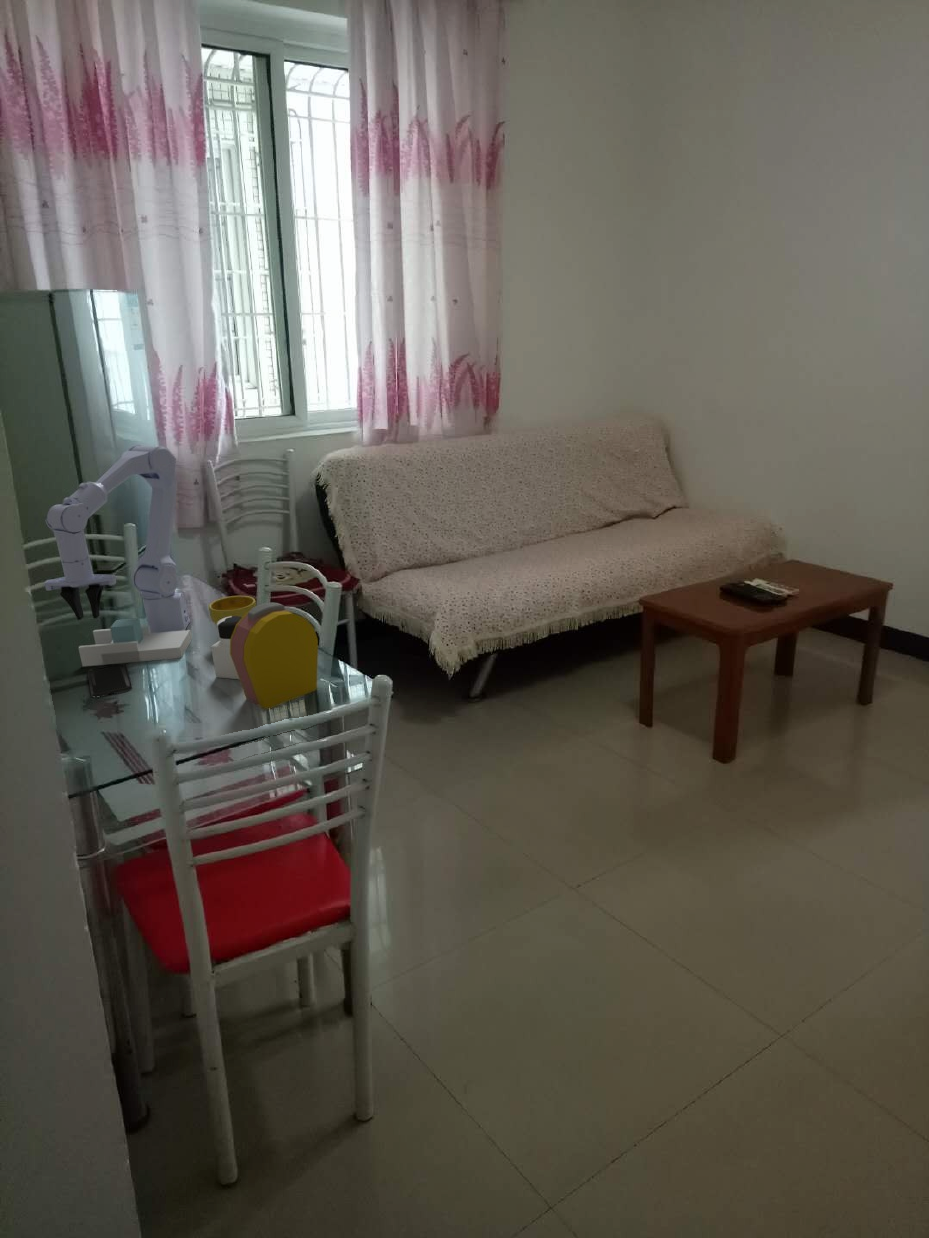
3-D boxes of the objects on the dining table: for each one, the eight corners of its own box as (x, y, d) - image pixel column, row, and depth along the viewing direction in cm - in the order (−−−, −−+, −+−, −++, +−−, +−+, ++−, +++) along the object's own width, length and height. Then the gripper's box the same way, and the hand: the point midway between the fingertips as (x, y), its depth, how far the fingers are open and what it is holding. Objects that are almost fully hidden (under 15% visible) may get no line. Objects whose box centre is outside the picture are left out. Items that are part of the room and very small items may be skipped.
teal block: (143, 638, 194) (138, 617, 192) (137, 646, 189) (133, 625, 187) (120, 640, 194) (116, 619, 192) (114, 648, 189) (109, 627, 187)
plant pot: (263, 646, 192) (257, 605, 188) (216, 654, 189) (209, 613, 185) (259, 631, 201) (253, 592, 197) (214, 638, 198) (207, 599, 195)
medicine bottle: (263, 666, 180) (255, 614, 176) (244, 680, 174) (235, 626, 170) (234, 664, 182) (226, 612, 178) (215, 677, 176) (206, 624, 172)
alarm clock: (301, 676, 174) (289, 592, 168) (323, 686, 169) (312, 600, 162) (236, 700, 165) (221, 612, 159) (258, 712, 159) (243, 621, 153)
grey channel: (191, 639, 198) (188, 621, 197) (181, 657, 188) (178, 638, 186) (98, 648, 197) (94, 630, 195) (82, 666, 186) (78, 647, 185)
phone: (125, 662, 185) (132, 686, 173) (126, 667, 186) (133, 691, 173) (86, 670, 182) (90, 695, 169) (87, 675, 183) (92, 700, 170)
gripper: (34, 567, 179) (48, 626, 184) (103, 561, 180) (116, 620, 185) (46, 558, 186) (60, 615, 191) (113, 552, 187) (125, 610, 192)
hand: (88, 617), depth 188 cm, fingers open, 3 cm apart
